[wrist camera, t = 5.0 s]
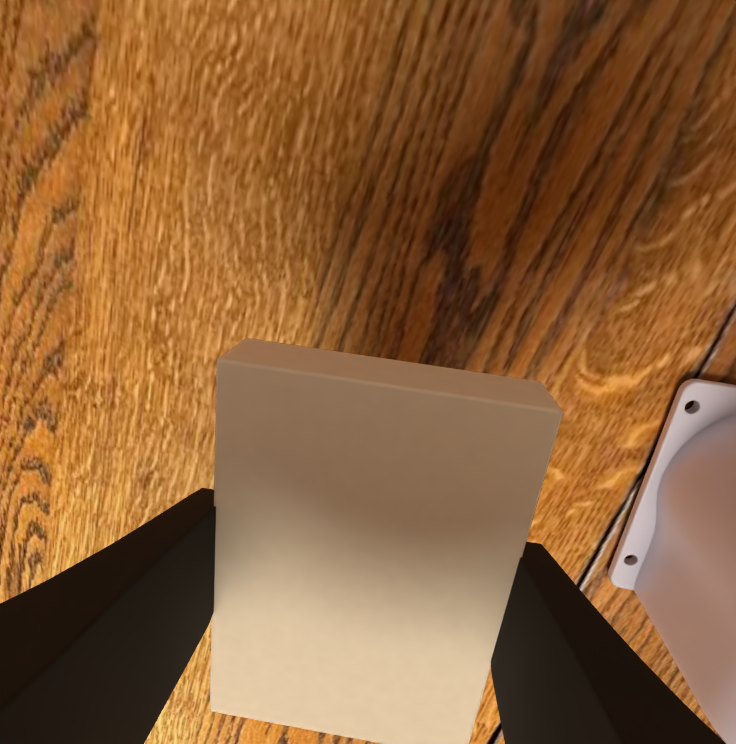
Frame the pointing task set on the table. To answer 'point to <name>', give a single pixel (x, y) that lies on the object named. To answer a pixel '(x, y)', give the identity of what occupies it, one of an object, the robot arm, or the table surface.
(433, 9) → the table surface
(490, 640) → the cream rectangular slab
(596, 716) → the robot arm
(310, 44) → the table surface
